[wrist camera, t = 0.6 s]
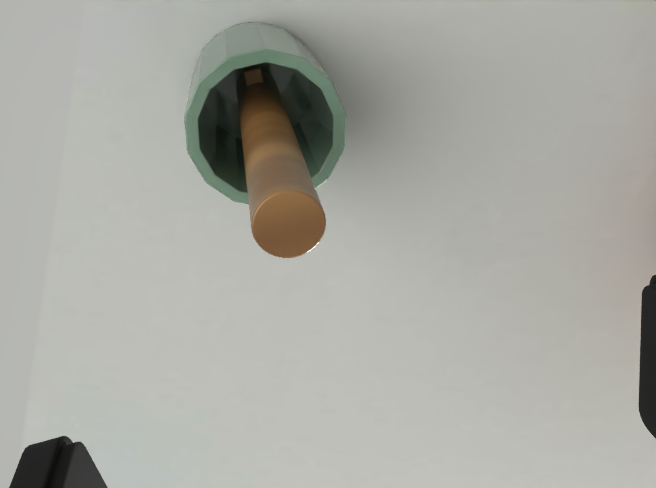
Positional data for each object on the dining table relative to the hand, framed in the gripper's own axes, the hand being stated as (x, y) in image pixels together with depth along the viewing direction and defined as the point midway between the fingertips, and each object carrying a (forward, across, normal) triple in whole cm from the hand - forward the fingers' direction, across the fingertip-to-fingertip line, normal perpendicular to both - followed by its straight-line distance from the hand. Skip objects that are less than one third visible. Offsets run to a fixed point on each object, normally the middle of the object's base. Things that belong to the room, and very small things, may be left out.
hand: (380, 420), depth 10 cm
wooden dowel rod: (+23, +1, 0) cm, 23 cm away
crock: (+24, +1, 0) cm, 24 cm away
